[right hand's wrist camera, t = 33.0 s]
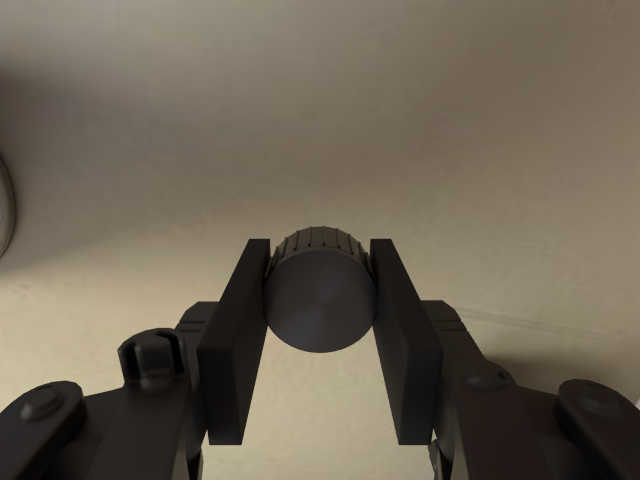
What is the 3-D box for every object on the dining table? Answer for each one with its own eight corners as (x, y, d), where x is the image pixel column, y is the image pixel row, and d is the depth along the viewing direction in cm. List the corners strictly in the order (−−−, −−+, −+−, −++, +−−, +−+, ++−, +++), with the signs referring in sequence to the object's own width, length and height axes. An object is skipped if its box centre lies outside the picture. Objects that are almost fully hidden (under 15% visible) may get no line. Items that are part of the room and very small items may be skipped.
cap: (276, 323, 15) (270, 359, 13) (259, 230, 14) (248, 255, 12) (375, 313, 15) (384, 348, 13) (368, 218, 14) (376, 241, 12)
